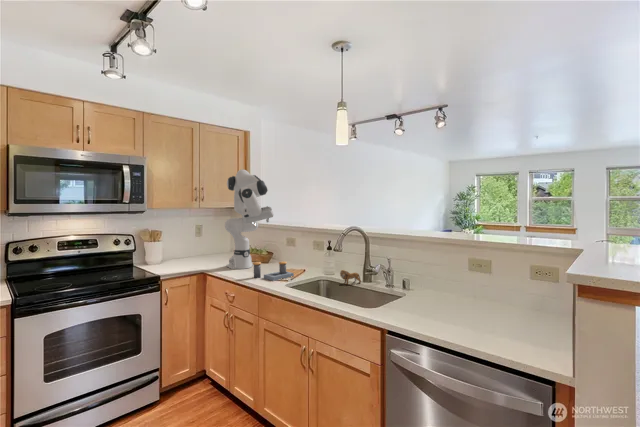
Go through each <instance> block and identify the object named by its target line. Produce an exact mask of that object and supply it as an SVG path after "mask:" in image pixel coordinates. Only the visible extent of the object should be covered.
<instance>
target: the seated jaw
mask: <svg viewBox="0 0 640 427" xmlns="http://www.w3.org/2000/svg"><path fill="white" fill-rule="evenodd" d="M287 263H288V262H287V261H278V264H279V267H278V268H279V271H278V272H279V273H280V274H286V271H287Z"/></svg>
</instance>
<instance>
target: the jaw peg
mask: <svg viewBox="0 0 640 427" xmlns="http://www.w3.org/2000/svg"><path fill="white" fill-rule="evenodd" d="M252 264H253V278H254V279H260V278H261V274H262V273H261V270H262V269H261V265H262V262H261V261H256V262H252Z"/></svg>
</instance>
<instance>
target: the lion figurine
mask: <svg viewBox="0 0 640 427" xmlns="http://www.w3.org/2000/svg"><path fill="white" fill-rule="evenodd" d="M339 276H340V278H341V279H343V280H344V282H343V284H345V285H348V284H349V280H353V279H354V281H352V282H353V283H352V284H354V283H356V282H358V284H361V283H362V280H361V276H360V273H358V272H352V273H351V272H349V271H347V270H345V269H341V270H340V272H339Z"/></svg>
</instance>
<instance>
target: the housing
mask: <svg viewBox="0 0 640 427" xmlns="http://www.w3.org/2000/svg"><path fill="white" fill-rule="evenodd" d="M291 276H294V272H291V271H287V270H286V274H280V273H279V271H275V272H270V273H266V274H263V279H265V280H267V281H268V280H269V281H272V282H275V281H279V280H278V279H281V278H285V279H288V278H287V277H290V278H292V277H291ZM294 277H295V276H294ZM281 280H282V279H281Z"/></svg>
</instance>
